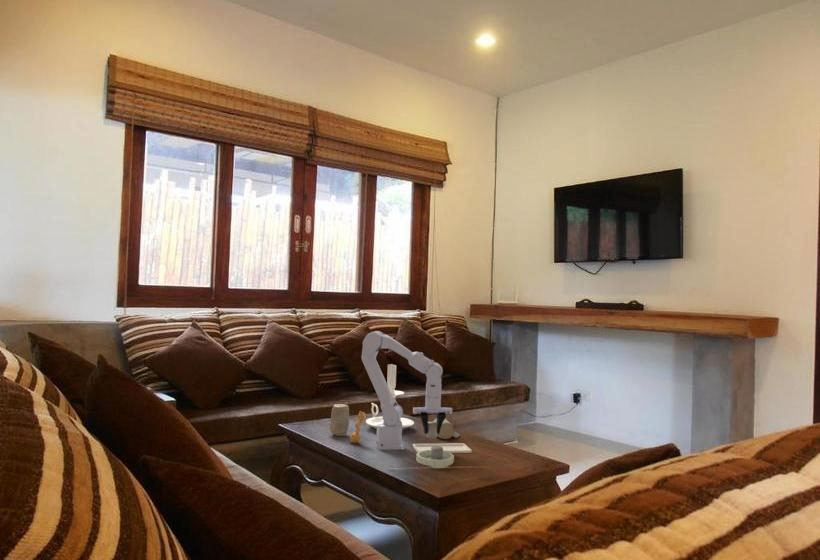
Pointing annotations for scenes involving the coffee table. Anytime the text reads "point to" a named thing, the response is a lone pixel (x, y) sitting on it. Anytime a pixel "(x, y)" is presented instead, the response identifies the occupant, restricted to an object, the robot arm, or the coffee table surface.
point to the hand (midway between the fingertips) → (431, 433)
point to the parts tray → (444, 447)
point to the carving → (339, 419)
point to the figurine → (358, 427)
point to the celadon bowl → (425, 459)
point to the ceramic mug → (446, 430)
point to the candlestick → (392, 385)
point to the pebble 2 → (437, 453)
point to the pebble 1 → (432, 429)
